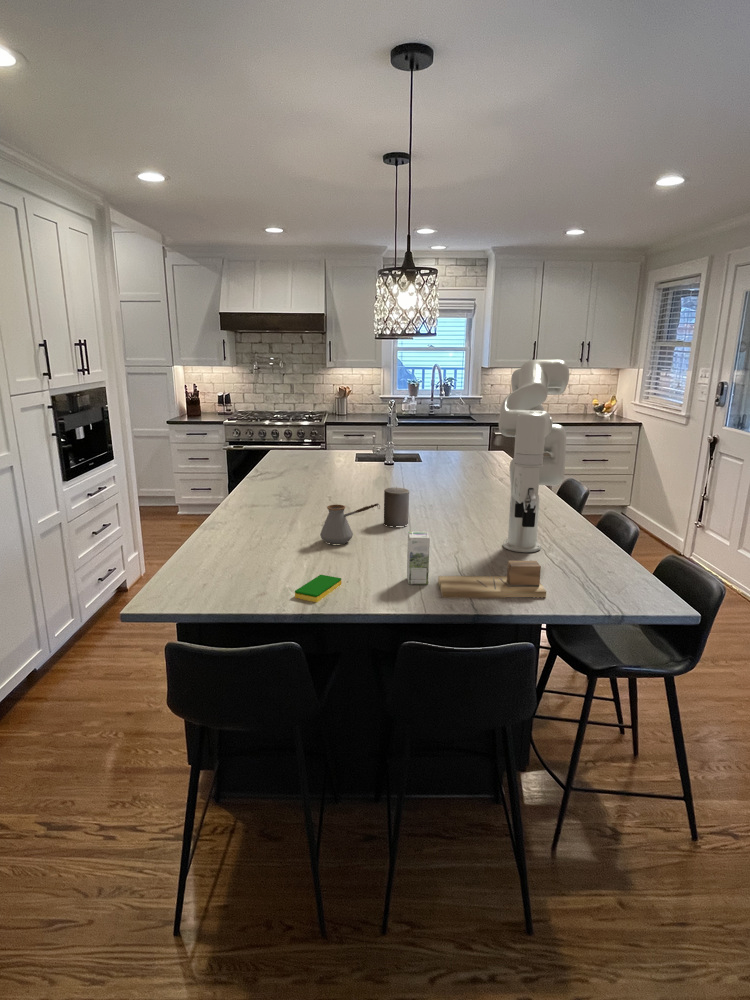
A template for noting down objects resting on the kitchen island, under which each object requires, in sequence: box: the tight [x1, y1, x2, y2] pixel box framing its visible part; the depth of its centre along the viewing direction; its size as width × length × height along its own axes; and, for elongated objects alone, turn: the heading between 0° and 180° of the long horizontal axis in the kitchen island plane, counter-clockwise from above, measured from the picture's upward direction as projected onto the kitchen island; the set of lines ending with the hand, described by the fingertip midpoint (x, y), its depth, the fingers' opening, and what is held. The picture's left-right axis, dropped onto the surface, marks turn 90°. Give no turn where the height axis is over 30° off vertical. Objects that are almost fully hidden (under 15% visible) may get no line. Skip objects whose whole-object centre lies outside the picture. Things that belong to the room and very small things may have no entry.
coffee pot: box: [319, 503, 381, 545], centre depth 199 cm, size 21×12×15 cm, turn 76°
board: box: [437, 575, 547, 599], centre depth 161 cm, size 11×28×2 cm, turn 90°
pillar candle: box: [383, 486, 410, 527], centre depth 222 cm, size 10×10×15 cm
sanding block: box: [506, 560, 542, 587], centre depth 160 cm, size 4×8×6 cm, turn 90°
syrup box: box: [406, 531, 431, 586], centre depth 165 cm, size 6×6×14 cm
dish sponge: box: [294, 574, 343, 603], centre depth 160 cm, size 7×14×2 cm, turn 154°
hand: (524, 521), depth 157 cm, fingers open, 9 cm apart
